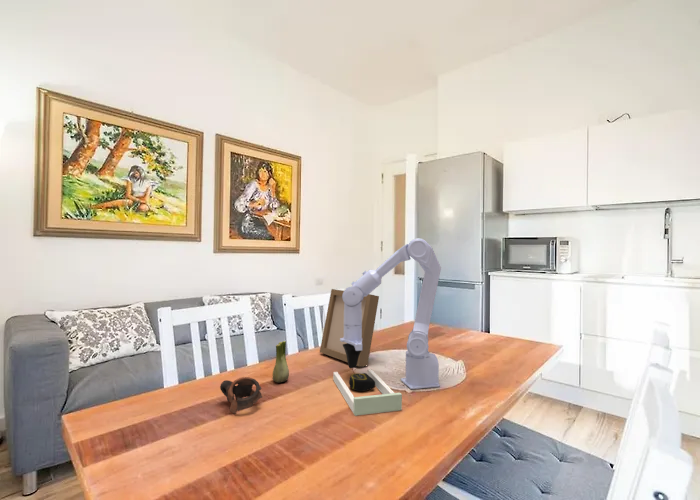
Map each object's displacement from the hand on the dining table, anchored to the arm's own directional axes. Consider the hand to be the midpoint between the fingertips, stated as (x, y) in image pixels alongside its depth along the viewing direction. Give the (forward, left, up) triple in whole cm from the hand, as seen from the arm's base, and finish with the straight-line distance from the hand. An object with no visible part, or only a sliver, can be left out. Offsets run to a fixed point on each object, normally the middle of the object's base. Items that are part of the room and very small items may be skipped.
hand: (352, 367), depth 112 cm
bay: (0, +12, -3) cm, 13 cm away
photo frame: (-6, -21, -4) cm, 22 cm away
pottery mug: (+33, +12, -4) cm, 36 cm away
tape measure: (-1, +8, -4) cm, 9 cm away
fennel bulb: (+22, -3, -4) cm, 22 cm away
